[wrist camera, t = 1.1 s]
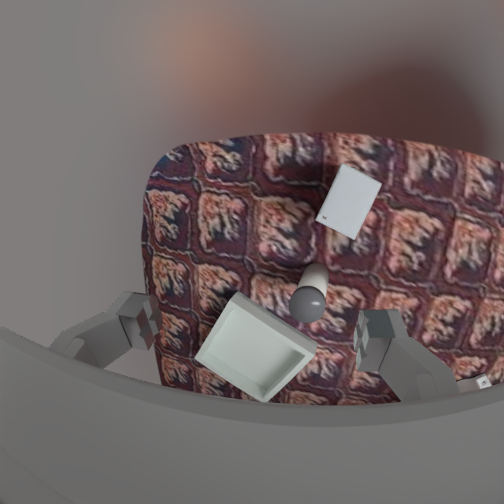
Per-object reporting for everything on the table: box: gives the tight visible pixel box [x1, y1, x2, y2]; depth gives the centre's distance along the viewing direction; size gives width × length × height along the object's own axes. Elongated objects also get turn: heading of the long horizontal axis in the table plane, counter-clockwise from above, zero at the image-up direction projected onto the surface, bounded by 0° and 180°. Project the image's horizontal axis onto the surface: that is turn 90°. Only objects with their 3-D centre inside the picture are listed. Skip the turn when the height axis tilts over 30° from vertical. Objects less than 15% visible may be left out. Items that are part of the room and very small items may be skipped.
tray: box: [194, 291, 318, 402], centre depth 53 cm, size 18×18×4 cm
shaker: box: [289, 263, 329, 323], centre depth 41 cm, size 5×5×12 cm
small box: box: [315, 163, 382, 240], centre depth 36 cm, size 8×6×10 cm
